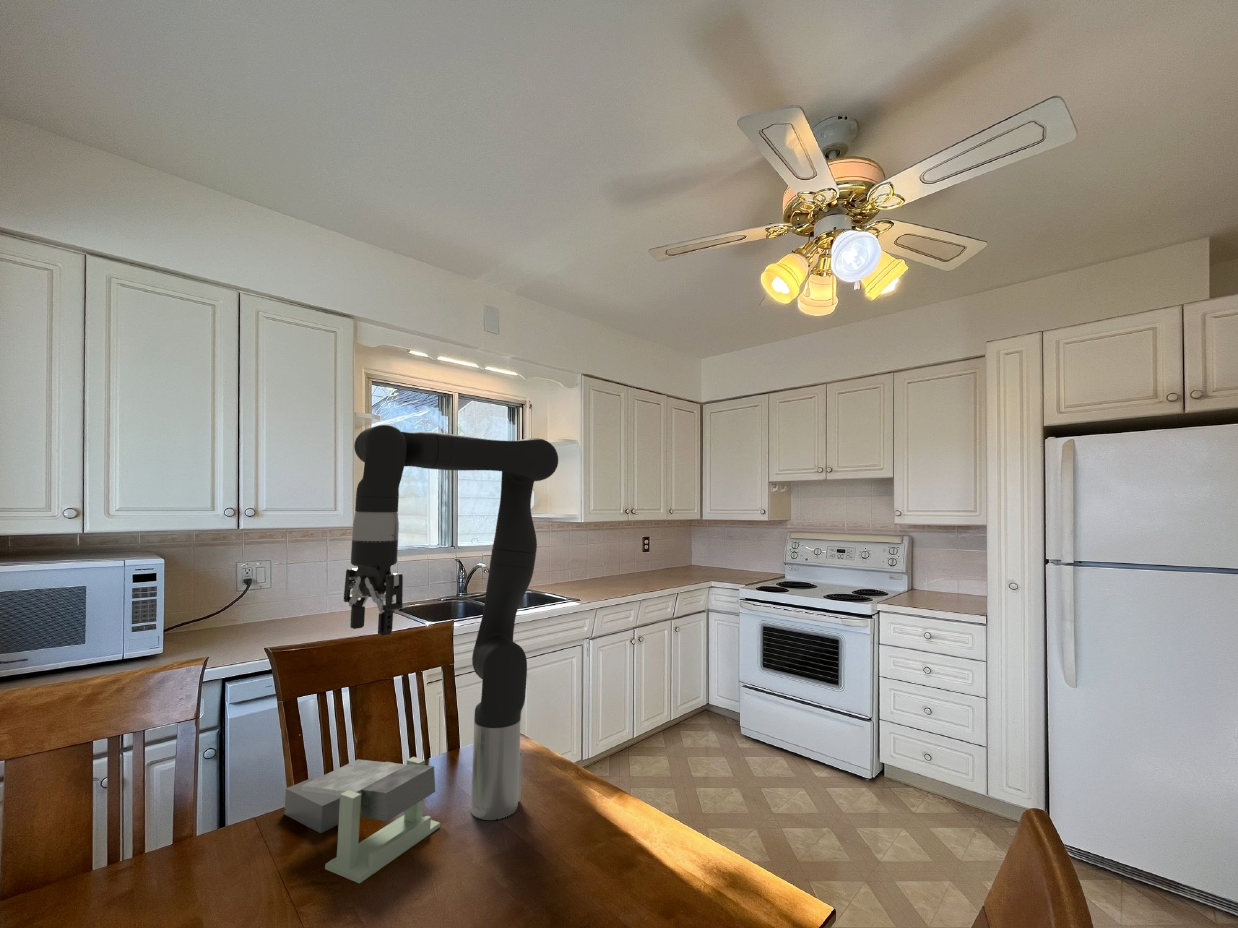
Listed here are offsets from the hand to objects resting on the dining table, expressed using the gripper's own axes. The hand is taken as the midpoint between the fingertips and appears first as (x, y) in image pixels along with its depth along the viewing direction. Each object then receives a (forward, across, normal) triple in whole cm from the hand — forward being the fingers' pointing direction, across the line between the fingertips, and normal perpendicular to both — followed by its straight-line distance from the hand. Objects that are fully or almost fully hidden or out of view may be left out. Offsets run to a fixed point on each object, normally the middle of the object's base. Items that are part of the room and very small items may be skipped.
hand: (370, 631), depth 99 cm
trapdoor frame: (+38, +1, -5) cm, 38 cm away
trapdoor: (+31, +4, -4) cm, 32 cm away
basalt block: (+36, +13, -3) cm, 38 cm away
